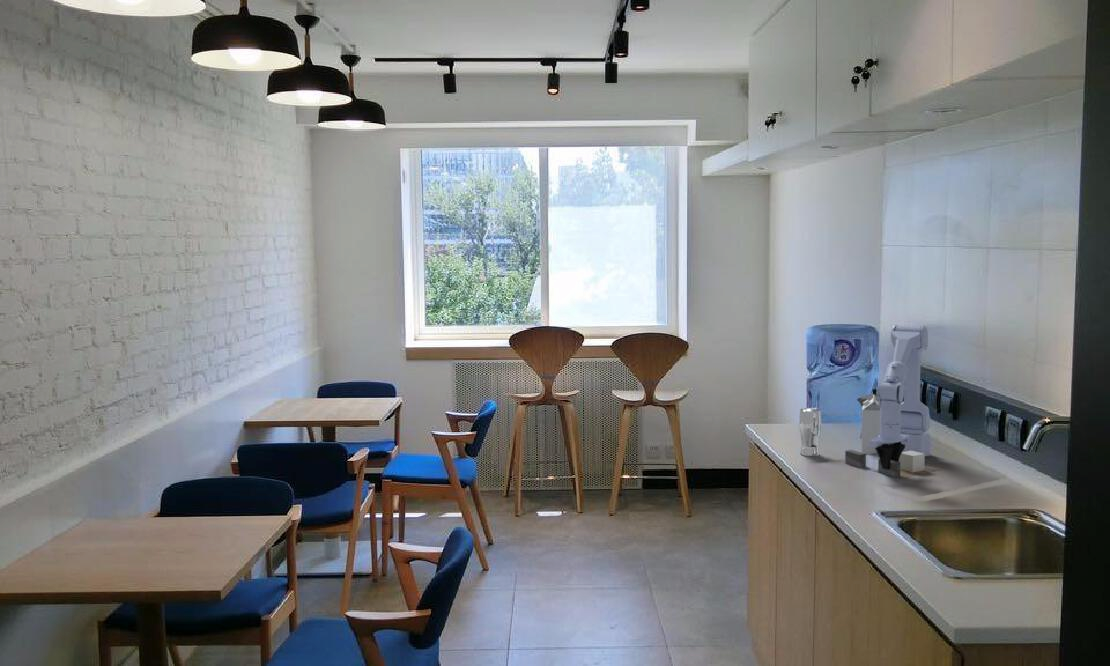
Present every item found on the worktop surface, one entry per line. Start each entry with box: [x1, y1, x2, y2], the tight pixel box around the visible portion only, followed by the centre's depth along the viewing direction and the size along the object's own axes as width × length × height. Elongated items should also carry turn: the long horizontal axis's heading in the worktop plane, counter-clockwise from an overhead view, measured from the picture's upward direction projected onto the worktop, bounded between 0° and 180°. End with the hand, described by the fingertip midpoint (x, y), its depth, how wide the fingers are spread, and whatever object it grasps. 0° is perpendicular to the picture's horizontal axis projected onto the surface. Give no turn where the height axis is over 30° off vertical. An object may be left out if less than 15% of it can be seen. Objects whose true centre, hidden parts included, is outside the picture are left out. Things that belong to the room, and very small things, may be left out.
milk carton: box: [860, 395, 880, 456], centre depth 294 cm, size 7×7×19 cm
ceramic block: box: [898, 451, 926, 473], centre depth 269 cm, size 5×5×5 cm
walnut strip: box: [872, 458, 941, 480], centre depth 268 cm, size 18×10×5 cm, turn 118°
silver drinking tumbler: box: [798, 407, 822, 458], centre depth 295 cm, size 7×7×15 cm
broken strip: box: [844, 449, 867, 468], centre depth 279 cm, size 18×9×5 cm, turn 118°
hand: (889, 468), depth 264 cm, fingers closed on walnut strip, 2 cm apart
